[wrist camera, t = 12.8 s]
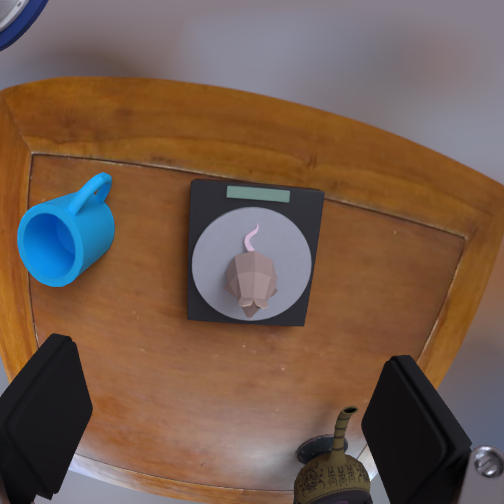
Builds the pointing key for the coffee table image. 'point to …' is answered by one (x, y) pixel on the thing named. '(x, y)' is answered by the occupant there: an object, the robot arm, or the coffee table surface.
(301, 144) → the coffee table surface
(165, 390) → the coffee table surface
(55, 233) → the mug
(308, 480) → the teapot
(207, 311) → the kitchen scale
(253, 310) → the mouse figurine
